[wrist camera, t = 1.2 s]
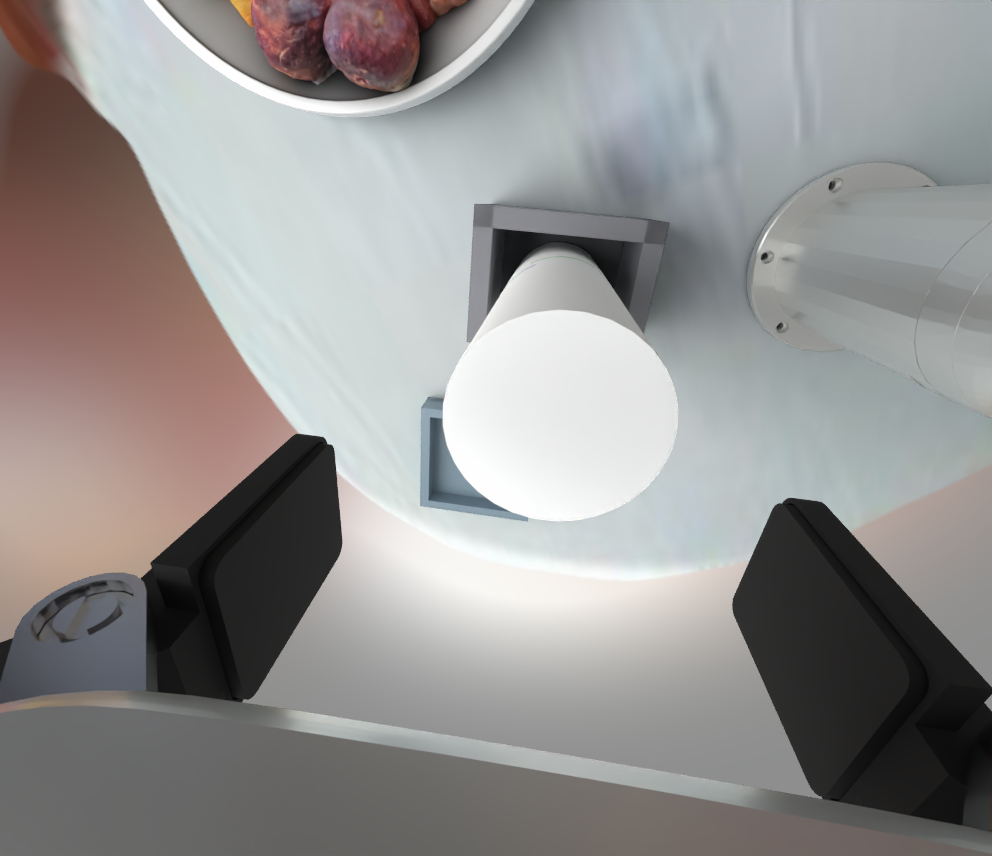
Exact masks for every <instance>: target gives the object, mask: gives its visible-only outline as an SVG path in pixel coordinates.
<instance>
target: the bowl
mask: <svg viewBox="0 0 992 856" xmlns="http://www.w3.org/2000/svg"><path fill="white" fill-rule="evenodd" d="M144 1H145V2H146V4H147V5H148V6H149V7H150V9H151V10H152V11H153V12H154V13H155V14H156V15H157V16H158V18H159V19H160V20H161V21H162V22H163V23H164V24H165V25H166V26H167V27H168V28H169V29H170V30H171V31H172V32H173V33H174V34H175V35H176V36H177V37H178V38H179V39H180V40H181V41H182V42H183V43H184V44H185V45H186V46H187V47H188V48H189V49H191V50H192V51H193V52H194V53H195V54H197V55H198V56H199V57H200V58H201V59H203V60H204V61H205V62H206V63H208V64H209V65H210V66H212V67H213V68H214V69H216V70H217V71H219V72H220V73H221V74H223V75H224V76H226V77H228V78H229V79H231V80H232V81H234V82H235V83H237V84H239V85H241V86H242V87H244V88H246V89H248V90H250V91H252V92H254V93H256V94H258V95H260V96H262V97H264V98H267V99H269V100H272V101H274V102H277V103H279V104H282V105H285V106H288V107H291V108H294V109H298V110H301V111H305V112H310V113H314V114H319V115H325V116H332V117H346V118H347V117H371V116H379V115H385V114H391V113H395V112H398V111H402V110H406V109H408V108H411V107H414V106H417V105H419V104H422V103H424V102H426V101H428V100H431V99H433V98H435V97H436V96H438V95H440V94H442V93H444V92H446V91H447V90H449V89H450V88H452V87H453V86H455V85H457V84H458V83H460V82H461V81H462V80H464V79H465V78H466V77H468V76H469V75H470V74H472V73H473V72H474V71H475V70H476V69H477V68H479V67H480V66H481V65H482V64H483V63H484V62H485V61H486V60H487V59H488V58H489V57H490V56H491V55H492V54H493V53H494V52H495V51H496V50H497V49H498V48H499V47H500V46H501V45H502V44H503V43H504V41H505V40H506V39H507V38H508V37H509V36H510V34H511V33H512V32H513V31H514V29H515V28H516V27H517V25H518V24H519V23H520V22H521V20H522V19H523V17H524V16H525V14H526V13H527V12H528V10H529V9H530V7H531V6H532V4H533V3H534V1H535V0H144Z"/></svg>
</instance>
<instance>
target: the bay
mask: <svg viewBox="0 0 992 856" xmlns="http://www.w3.org/2000/svg"><path fill="white" fill-rule="evenodd" d="M668 227H669V223H668V222H662V221H656V220H650V219H642V218H632V217H621V216H611V215H600V214H590V213H579V212H569V211H558V210H548V209H537V208H527V207H516V206H506V205H495V204H474V221H473V238H472V256H471V274H470V292H469V310H468V328H467V342H471V341H472V340H473V338H474V337H475V335H476V333H477V332H478V330H479V329H480V327H481V325H482V324H483V322H484V321H485V319H486V317H487V316H488V314H489V313H490V311H491V309H492V308H493V306H494V305H495V303H496V301H497V300H498V298H499V296H500V287H501V276H502V264H503V252H504V241H505V229H507V230H518V231H528V232H538V233H548V234H558V235H568V236H578V237H588V238H599V239H609V240H619V241H624V244H623V249H622V254H621V259H620V264H619V269H618V274H617V280H616V285H615V290H614V291H615V292H616V294H617V295H618V297H619V298H620V300H621V301H622V303H623V304H624V306H625V307H626V309H627V310H628V312H629V313H630V315H631V316H632V318H633V319H634V320H635V322H636V323H637V325H638V326H639V328H640V329H641V331H642V332H643V333H644V329H645V325H646V321H647V316H648V312H649V308H650V304H651V299H652V295H653V291H654V287H655V282H656V278H657V274H658V270H659V265H660V261H661V257H662V253H663V248H664V244H665V240H666V236H667V231H668Z"/></svg>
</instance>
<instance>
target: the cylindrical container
mask: <svg viewBox="0 0 992 856" xmlns="http://www.w3.org/2000/svg"><path fill="white" fill-rule="evenodd" d="M443 430H444V434H445V439H446V444H447V447H448V449H449V451H450V454H451V456H452V458H453V461H454V463H455V465H456V466H457V467H458V469H459V470H460V472H461V473H462V475H463V476H464V478H465V479H466V480H467V481H468V482H469V483H470V484H471V485H472V486H473V487H474V488H475V489H476V490H477V491H478V492H479V493H480V494H482V495H483V496H485V497H486V498H487V499H489V500H490V501H491V502H493V503H494V504H496V505H498V506H500V507H502V508H504V509H506V510H508V511H510V512H513V513H516V514H519V515H523V516H526V517H529V518H533V519H540V520H548V521H575V520H581V519H586V518H590V517H595V516H598V515H601V514H604V513H606V512H609V511H612V510H614V509H616V508H618V507H620V506H622V505H623V504H625V503H627V502H629V501H630V500H632V499H633V498H634V497H636V496H637V495H638V494H639V493H641V492H642V491H643V490H644V489H645V488H647V487H648V486H649V484H650V483H651V482H652V481H653V480H654V478H655V477H656V476H657V475H658V474H659V473H660V471H661V470H662V468H663V466H664V464H665V462H666V461H667V459H668V457H669V455H670V453H671V451H672V448H673V444H674V441H675V437H676V433H677V430H678V403H677V398H676V393H675V388H674V385H673V382H672V380H671V378H670V376H669V373H668V371H667V369H666V367H665V365H664V364H663V362H662V361H661V359H660V358H659V356H658V355H657V353H656V352H655V350H654V349H653V347H652V346H651V344H650V343H649V341H648V340H647V338H646V337H645V335H644V334H643V332H642V331H641V329H640V328H639V326H638V325H637V323H636V322H635V320H634V319H633V318H632V316H631V315H630V313H629V312H628V310H627V309H626V307H625V306H624V304H623V303H622V301H621V300H620V298H619V297H618V295H617V294H616V292H615V291H614V289H613V288H612V286H611V285H610V283H609V282H608V280H607V279H606V277H605V276H604V274H603V273H602V271H601V270H600V268H599V267H598V265H597V264H596V263H595V261H594V260H593V258H592V257H591V256H590V255H589V254H588V253H587V252H586V251H585V250H583V249H581V248H580V247H578V246H576V245H573V244H570V243H564V242H554V243H547V244H545V245H542V246H539V247H538V248H536V249H534V250H533V251H531V252H530V253H529V254H528V255H527V256H526V257H525V258H524V259H523V260H522V262H521V263H520V264H519V266H518V267H517V269H516V271H515V272H514V274H513V276H512V277H511V279H510V280H509V282H508V284H507V285H506V287H505V288H504V290H503V292H502V293H501V295H500V296H499V298H498V300H497V301H496V303H495V305H494V306H493V308H492V309H491V311H490V313H489V314H488V316H487V317H486V319H485V321H484V322H483V324H482V325H481V327H480V329H479V330H478V332H477V333H476V335H475V337H474V338H473V340H472V341H471V343H470V345H469V346H468V348H467V349H466V351H465V353H464V354H463V356H462V357H461V359H460V361H459V362H458V364H457V366H456V368H455V370H454V372H453V374H452V376H451V378H450V380H449V382H448V385H447V389H446V393H445V398H444V402H443Z"/></svg>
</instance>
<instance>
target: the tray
mask: <svg viewBox="0 0 992 856" xmlns="http://www.w3.org/2000/svg"><path fill="white" fill-rule="evenodd" d="M443 402H444V399H438V398H430V397H428V398H427V400H426V401H425V403H424V404H423V406H422V407H421V486H420V506H424V507H431V508H438V509H445V510H452V511H459V512H466V513H473V514H480V515H487V516H494V517H501V518H508V519H515V520H522V521H528V517H526V516H523V515H519V514H516V513H513V512H510V511H508V510H506V509H504V508H502V507H500V506H498V505H496V504H494V503H493V502H491V501H490V500H489V499H487V498H486V497H485V496H483V495H482V494H480V493H479V492H478V491H477V490H476V489H475V488H474V487H473V486H472V485H471V484H470V483H469V482H468V481H467V480H466V479H465V478H464V476H463V475H462V473H461V472H460V470H459V469H458V467H457V466H456V465H455V463H454V461H453V458H452V456H451V454H450V451H449V449H448V447H447V444H446V439H445V434H444V430H443Z"/></svg>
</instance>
